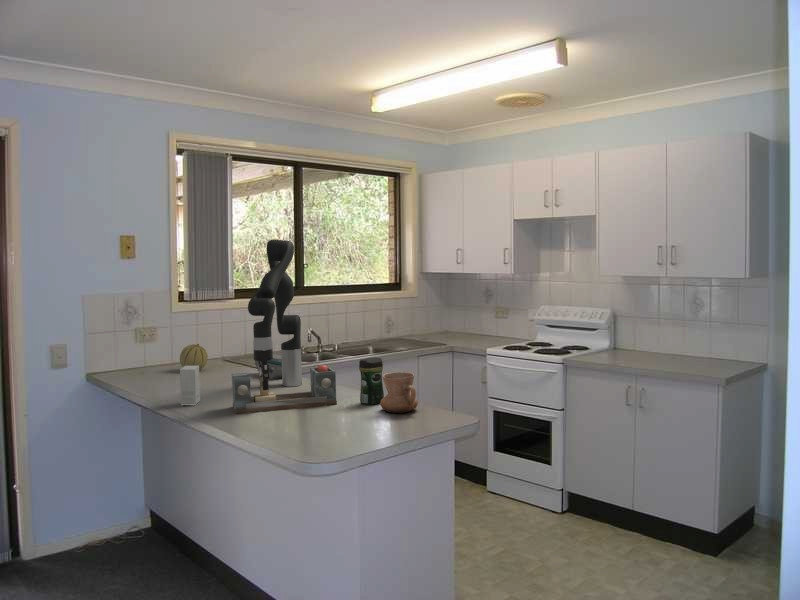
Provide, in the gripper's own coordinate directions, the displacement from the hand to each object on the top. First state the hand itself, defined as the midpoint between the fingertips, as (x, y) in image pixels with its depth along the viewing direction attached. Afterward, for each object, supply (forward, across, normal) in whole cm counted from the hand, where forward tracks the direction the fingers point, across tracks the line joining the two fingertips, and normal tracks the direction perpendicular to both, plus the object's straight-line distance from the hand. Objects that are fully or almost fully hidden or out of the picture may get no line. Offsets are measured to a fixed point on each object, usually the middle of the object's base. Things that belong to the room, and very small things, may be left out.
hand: (264, 388), depth 256 cm
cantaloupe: (+8, -104, -25) cm, 107 cm away
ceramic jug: (+8, +28, +48) cm, 56 cm away
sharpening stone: (+8, -68, +13) cm, 70 cm away
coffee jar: (+8, +10, +42) cm, 44 cm away
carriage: (+6, 0, 0) cm, 6 cm away
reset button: (-3, 0, +24) cm, 24 cm away
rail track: (+8, 0, +8) cm, 11 cm away
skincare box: (+8, -19, -28) cm, 35 cm away
